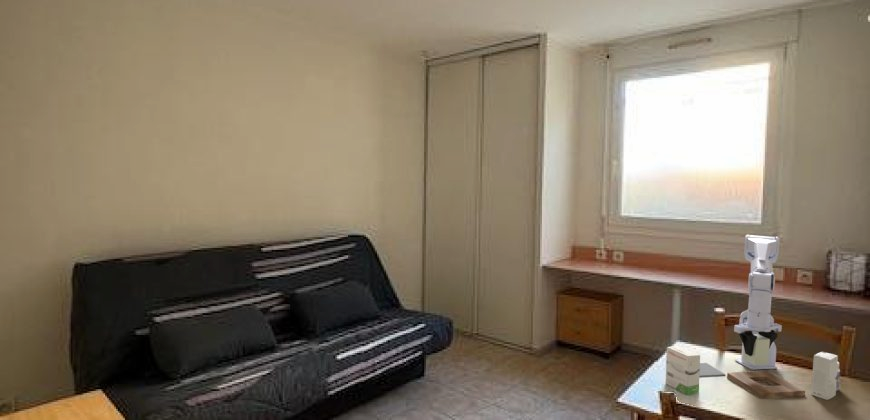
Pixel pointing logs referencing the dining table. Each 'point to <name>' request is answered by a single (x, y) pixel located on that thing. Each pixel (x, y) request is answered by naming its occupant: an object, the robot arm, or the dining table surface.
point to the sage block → (759, 351)
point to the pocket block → (777, 390)
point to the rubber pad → (709, 370)
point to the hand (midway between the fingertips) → (755, 354)
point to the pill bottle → (838, 377)
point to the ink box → (683, 369)
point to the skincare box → (824, 375)
